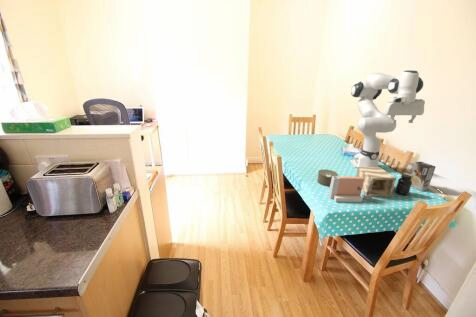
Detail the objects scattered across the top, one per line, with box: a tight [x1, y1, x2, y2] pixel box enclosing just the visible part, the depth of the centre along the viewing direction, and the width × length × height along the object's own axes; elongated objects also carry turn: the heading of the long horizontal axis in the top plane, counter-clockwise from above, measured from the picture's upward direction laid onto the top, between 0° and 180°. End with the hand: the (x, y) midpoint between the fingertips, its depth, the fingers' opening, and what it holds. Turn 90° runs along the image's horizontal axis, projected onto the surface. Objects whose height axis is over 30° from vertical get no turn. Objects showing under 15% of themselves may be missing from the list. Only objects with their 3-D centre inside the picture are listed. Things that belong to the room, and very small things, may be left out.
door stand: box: [333, 195, 364, 203], centre depth 133 cm, size 10×15×2 cm, turn 90°
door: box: [327, 175, 364, 200], centre depth 131 cm, size 4×17×13 cm, turn 90°
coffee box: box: [410, 161, 436, 192], centre depth 144 cm, size 9×6×16 cm
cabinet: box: [355, 166, 397, 200], centre depth 139 cm, size 20×17×12 cm
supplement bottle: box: [394, 173, 412, 196], centre depth 137 cm, size 7×7×12 cm
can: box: [317, 169, 339, 188], centre depth 150 cm, size 12×12×7 cm
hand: (402, 122), depth 138 cm, fingers open, 8 cm apart
